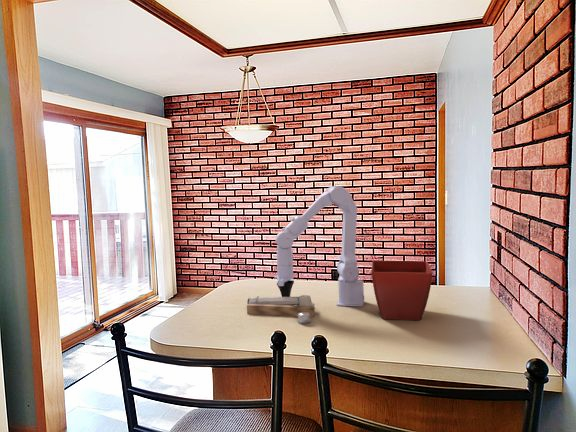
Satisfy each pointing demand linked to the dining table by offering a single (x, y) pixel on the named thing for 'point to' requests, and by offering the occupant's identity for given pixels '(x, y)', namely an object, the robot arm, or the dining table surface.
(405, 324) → the dining table surface
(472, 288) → the dining table surface
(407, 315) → the plant pot
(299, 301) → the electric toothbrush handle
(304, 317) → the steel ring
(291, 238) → the robot arm
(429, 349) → the dining table surface
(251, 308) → the brown wooden bar
